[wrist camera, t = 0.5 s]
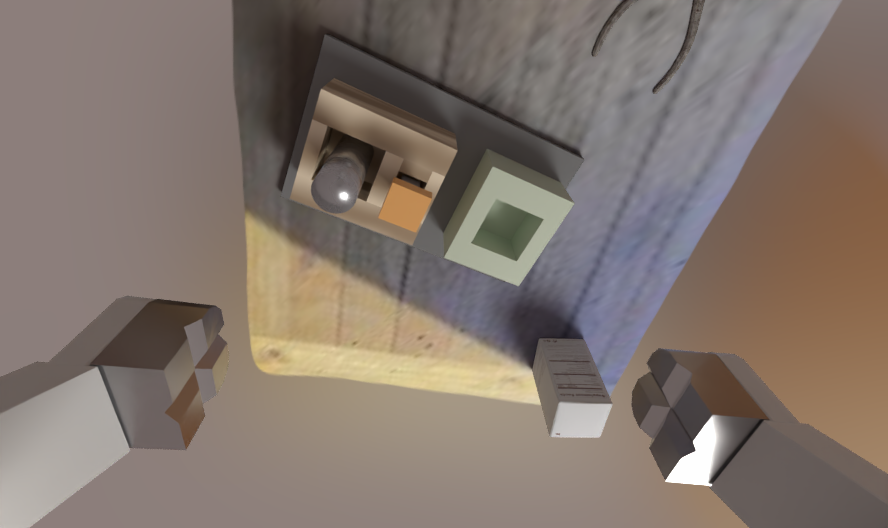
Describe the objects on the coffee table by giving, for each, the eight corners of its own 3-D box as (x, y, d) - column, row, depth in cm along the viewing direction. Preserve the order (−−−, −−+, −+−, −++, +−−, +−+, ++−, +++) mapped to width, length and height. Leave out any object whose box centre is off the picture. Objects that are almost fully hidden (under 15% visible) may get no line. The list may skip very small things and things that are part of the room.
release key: (397, 162, 44) (392, 182, 39) (432, 177, 45) (432, 198, 40) (383, 195, 46) (378, 217, 41) (417, 209, 47) (416, 232, 42)
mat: (327, 33, 43) (324, 34, 42) (582, 157, 50) (584, 159, 49) (283, 193, 52) (280, 196, 51) (504, 278, 59) (505, 282, 59)
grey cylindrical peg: (343, 126, 46) (317, 163, 36) (378, 141, 47) (363, 182, 37) (333, 159, 48) (305, 203, 38) (366, 173, 49) (348, 220, 39)
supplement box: (575, 371, 70) (600, 439, 59) (530, 370, 69) (547, 438, 59) (585, 337, 66) (614, 404, 55) (538, 336, 65) (558, 403, 55)
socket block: (334, 78, 44) (321, 88, 39) (455, 133, 47) (457, 150, 42) (304, 178, 50) (289, 198, 45) (414, 221, 53) (412, 245, 48)
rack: (486, 148, 48) (492, 166, 43) (560, 182, 51) (574, 203, 46) (443, 233, 54) (444, 257, 49) (511, 260, 57) (518, 286, 52)
